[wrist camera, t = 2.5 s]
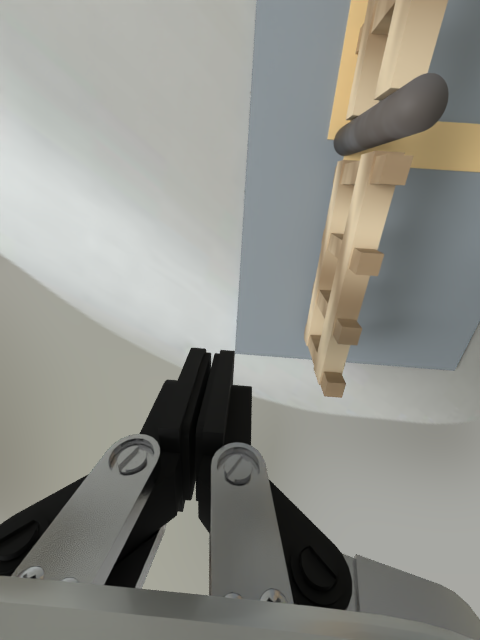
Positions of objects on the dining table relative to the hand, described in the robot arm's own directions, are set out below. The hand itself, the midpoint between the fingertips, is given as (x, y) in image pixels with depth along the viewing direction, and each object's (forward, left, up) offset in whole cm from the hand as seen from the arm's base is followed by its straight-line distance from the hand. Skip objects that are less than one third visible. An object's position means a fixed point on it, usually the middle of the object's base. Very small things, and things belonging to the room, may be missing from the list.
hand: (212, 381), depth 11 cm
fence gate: (-3, +6, -11) cm, 13 cm away
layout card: (-7, +10, -12) cm, 17 cm away
